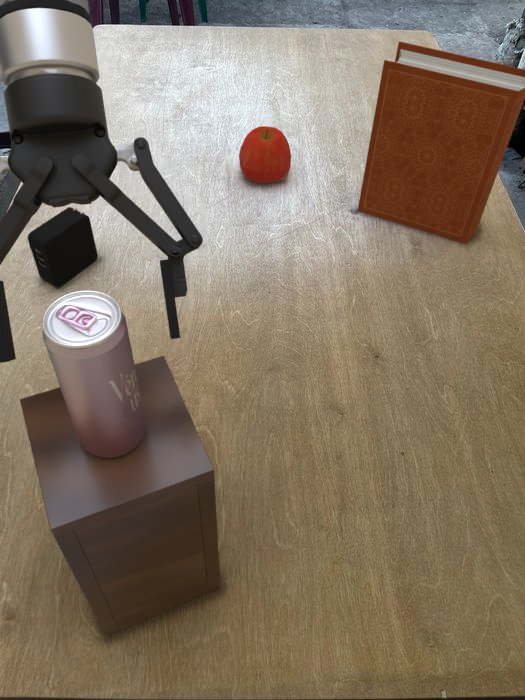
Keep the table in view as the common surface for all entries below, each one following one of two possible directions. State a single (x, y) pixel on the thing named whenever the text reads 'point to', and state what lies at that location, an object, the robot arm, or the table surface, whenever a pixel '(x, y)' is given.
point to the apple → (265, 155)
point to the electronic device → (63, 246)
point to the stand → (130, 504)
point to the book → (439, 139)
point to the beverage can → (95, 371)
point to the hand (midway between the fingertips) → (93, 349)
